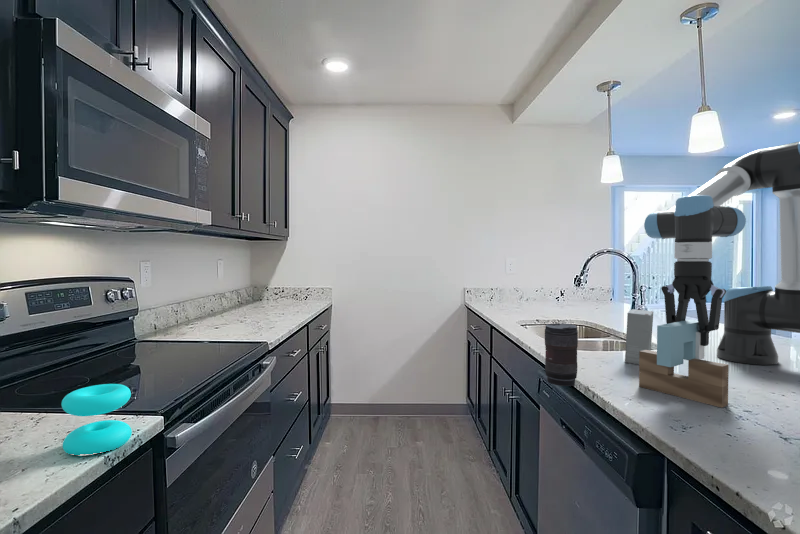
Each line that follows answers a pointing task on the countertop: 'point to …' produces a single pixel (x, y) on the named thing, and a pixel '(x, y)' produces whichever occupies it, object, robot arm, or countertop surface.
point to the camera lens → (561, 353)
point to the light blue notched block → (676, 342)
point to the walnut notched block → (686, 379)
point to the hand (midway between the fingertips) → (691, 357)
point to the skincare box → (638, 334)
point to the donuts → (101, 432)
